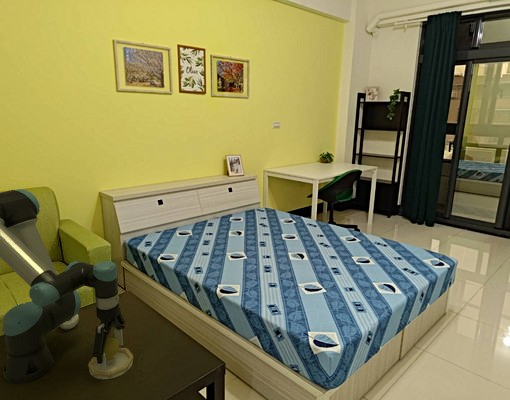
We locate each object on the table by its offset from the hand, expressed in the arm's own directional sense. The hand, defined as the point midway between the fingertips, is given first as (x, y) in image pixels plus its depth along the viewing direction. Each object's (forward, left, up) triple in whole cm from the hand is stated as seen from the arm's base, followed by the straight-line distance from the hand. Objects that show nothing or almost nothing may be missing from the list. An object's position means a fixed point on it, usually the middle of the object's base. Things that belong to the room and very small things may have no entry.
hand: (110, 356), depth 130 cm
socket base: (0, 0, -4) cm, 4 cm away
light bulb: (0, 0, -3) cm, 3 cm away
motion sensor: (-28, +20, -4) cm, 35 cm away
